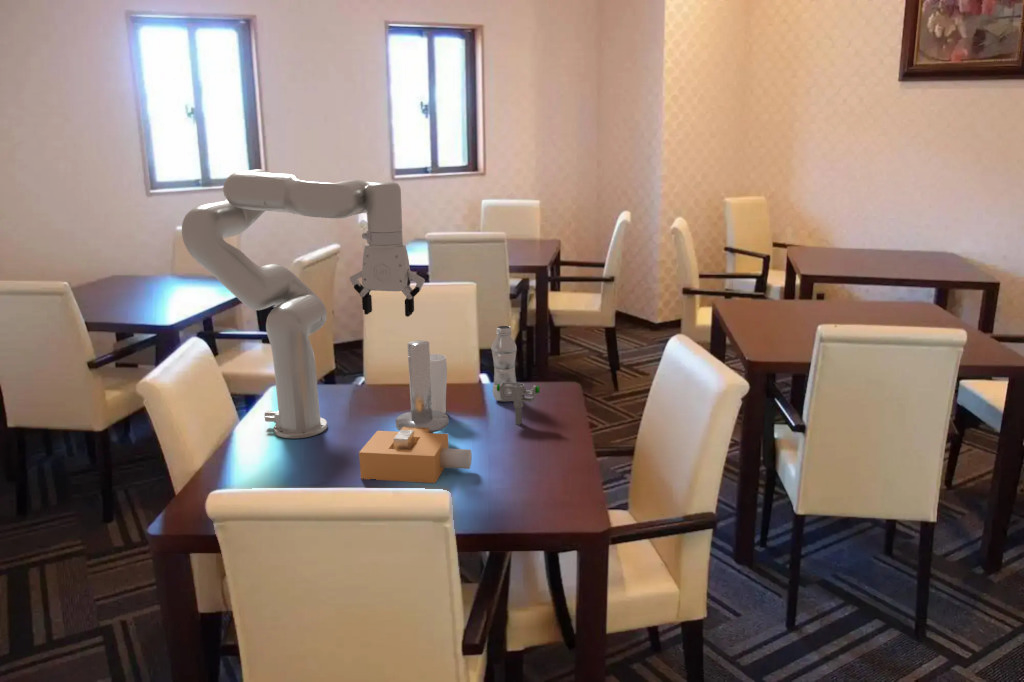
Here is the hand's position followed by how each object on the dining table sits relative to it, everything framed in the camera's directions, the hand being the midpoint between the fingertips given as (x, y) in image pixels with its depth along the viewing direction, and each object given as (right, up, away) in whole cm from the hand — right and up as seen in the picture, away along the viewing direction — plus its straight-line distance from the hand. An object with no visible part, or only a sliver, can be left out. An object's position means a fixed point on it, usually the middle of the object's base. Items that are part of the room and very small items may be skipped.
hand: (388, 314), depth 182 cm
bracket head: (+8, -33, -9) cm, 35 cm away
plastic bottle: (+26, -22, +31) cm, 46 cm away
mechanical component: (+30, -26, +14) cm, 42 cm away
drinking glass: (+9, -25, +22) cm, 34 cm away
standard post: (+8, -30, +3) cm, 31 cm away
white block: (+5, -34, -10) cm, 35 cm away
